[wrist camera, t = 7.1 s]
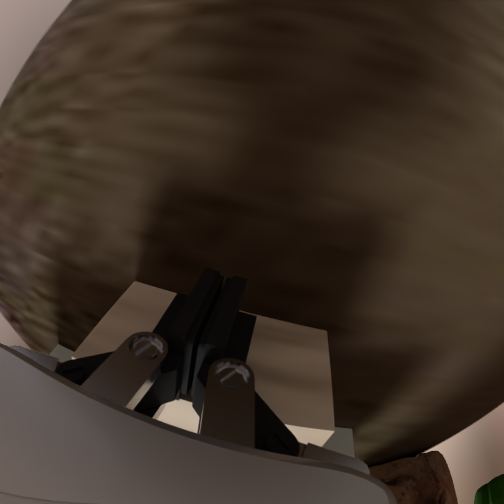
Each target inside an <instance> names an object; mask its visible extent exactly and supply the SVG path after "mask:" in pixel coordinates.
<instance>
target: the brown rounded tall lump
mask: <svg viewBox="0 0 504 504" xmlns="http://www.w3.org/2000/svg"><path fill="white" fill-rule="evenodd" d="M368 469H369V471H370V476H373V477H375V478H376V479H378V480H380V481H381V482H383V483H384V484H386V485H387V486H388V487H389V488H390V489H391V491H392V492H393V494H394V496H395V498H396V501H397V504H458V502H457V497H456V493H455V489H454V485H453V480H452V477H451V474H450V471H449V468H448V465H447V463H446V461H445V459H444V457H443V455H442V454H441V453H440V452H439V451H430V452H427V453H422V454H420V455H418V456H417V457H406V458H402V459H398V460H395V461H392V462H388V463H385V464H381V465H376V466H372V467H369V468H368Z"/></svg>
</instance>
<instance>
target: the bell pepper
mask: <svg viewBox="0 0 504 504" xmlns="http://www.w3.org/2000/svg"><path fill="white" fill-rule="evenodd" d="M474 504H504V474H502V475H500V476H497V477H495V478H494V479H492V480H491V481H490V482H489V483H487V484H485V485H483V486H482V487H480V488H479V489H478V490H477V492H476V494H475V501H474Z"/></svg>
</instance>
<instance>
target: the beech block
mask: <svg viewBox="0 0 504 504" xmlns="http://www.w3.org/2000/svg"><path fill="white" fill-rule="evenodd" d="M176 295H177V293H174V292H170V291H167V290H164V289H160V288H157V287H154V286H150V285H147V284H144V283H140V282H137V281H134V282H133V283H132V285H131V286H130V287H129V288H128V289H127V290H126V291H125V293H124V294H123V295H122V296H121V297H120V298H119V299H118V301H117V302H116V303H115V304H114V305H113V306H112V307H111V309H110V310H109V311H108V312H107V313H106V315H105V316H104V317H103V318H102V319H101V320H100V322H99V323H98V324H97V325H96V326H95V328H94V329H93V330H92V331H91V332H90V334H89V335H88V336H87V337H86V339H85V340H84V341H83V342H82V343H81V345H80V346H79V347H78V348H77V350H76V351H75V352H74V353H73V355H72V356H71V357H72V359H77V358H82V357H87V356H92V355H97V354H102V353H107V352H112V351H115V350H116V349H117V348H118V347H119V346H120V345H121V344H122V343H123V342H124V341H125V340H126V339H127V338H128V337H129V336H131V335H132V334H135V333H137V332H144V331H145V332H152V331H153V330H154V328H155V327H156V325H157V324H158V322H159V320H160V319H161V317H162V316H163V314H164V313H165V311H166V310H167V308H168V306H169V305H170V303H171V302H172V300H173V299H174V297H175V296H176ZM239 311H240V310H239ZM241 312H243V311H241ZM244 313H247V312H244ZM248 314H251V313H248ZM252 315H255V314H252ZM255 316H257V318H256V323H255V327H254V331H253V335H252V339H251V344H250V348H249V352H248V356H247V360H246V364H247V365H248V366H249V367H250V368H251V369H252V371H253V372H254V377H255V391H256V392H257V393H258V395H259V396H260V397H261V398H262V399H263V400H264V402H265V403H266V404H267V405H268V406H269V407H270V409H271V410H272V411H273V412H274V413H275V414H276V415H277V416H278V418H279V419H280V420H281V421H282V422H283V423H284V424H285V425H286V427H287V428H288V429H289V430H290V431H291V432H292V433H293V434H294V435H295V437H296V438H297V440H298V442H301V443H304V444H307V443H308V442H309V443H312V444H315V445H317V446H320V447H322V446H323V445H324V444H325V442H326V441H327V440H328V439H329V438H330V436H331V435H332V434H333V433H334V431H335V425H334V408H333V394H332V380H331V369H330V357H329V347H328V337H327V331H325V330H320V329H316V328H311V327H306V326H302V325H298V324H293V323H289V322H285V321H280V320H276V319H272V318H268V317H264V316H259V315H255ZM192 385H193V381H192V384H191V386H190V389H189V391H188V394H187V395H185V394H181V397H180V400H179V401H178V400H175V401H172V402H168V403H166V406H165V408H164V410H163V411H162V413H161V414H160V416H159V417H158V419H157V420H159V421H162V422H164V423H167V424H170V425H173V426H176V427H179V428H182V429H185V430H188V431H191V432H194V433H197V429H198V422H199V416H198V415H197V413H196V412H195V410H194V409H193V407H192V403H193V397H191V392H192Z"/></svg>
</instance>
